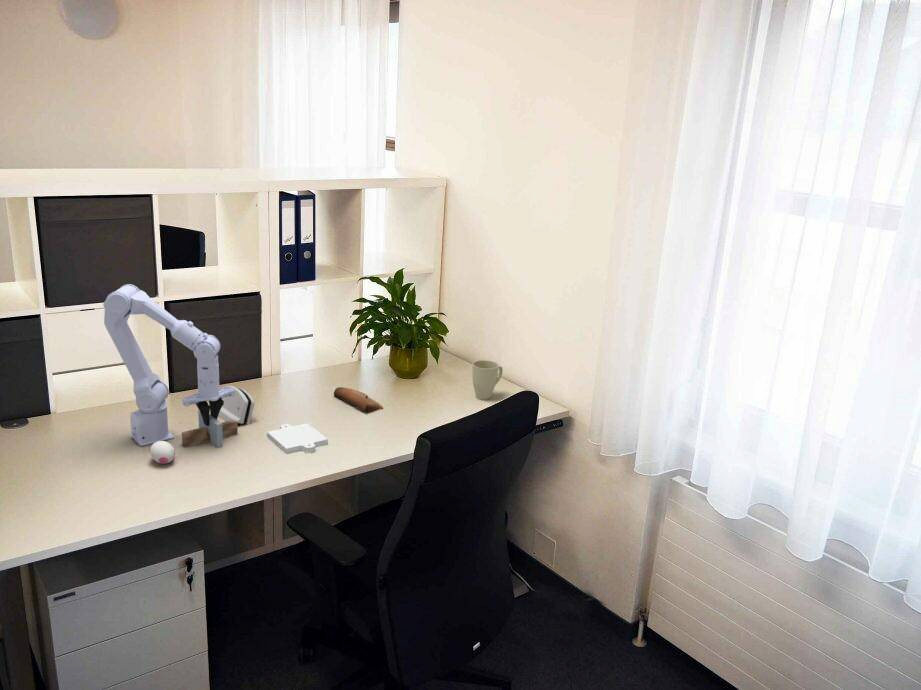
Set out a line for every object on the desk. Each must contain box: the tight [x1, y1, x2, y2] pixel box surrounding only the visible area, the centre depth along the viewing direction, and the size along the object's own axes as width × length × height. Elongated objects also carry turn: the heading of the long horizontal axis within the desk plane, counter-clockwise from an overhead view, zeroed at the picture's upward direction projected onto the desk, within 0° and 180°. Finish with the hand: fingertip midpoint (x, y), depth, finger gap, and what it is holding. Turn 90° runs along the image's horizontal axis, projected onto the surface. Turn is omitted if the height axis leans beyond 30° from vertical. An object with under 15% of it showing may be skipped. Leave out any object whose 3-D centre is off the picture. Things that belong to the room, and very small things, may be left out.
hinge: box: [218, 385, 256, 425], centre depth 239 cm, size 17×5×10 cm, turn 44°
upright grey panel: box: [197, 410, 224, 448], centre depth 222 cm, size 2×12×7 cm, turn 42°
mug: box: [472, 359, 503, 401], centre depth 267 cm, size 11×10×12 cm
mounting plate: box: [266, 422, 329, 455], centre depth 226 cm, size 18×13×2 cm
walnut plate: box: [181, 420, 238, 448], centre depth 222 cm, size 16×2×4 cm, turn 132°
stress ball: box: [149, 440, 178, 466], centre depth 208 cm, size 8×8×7 cm
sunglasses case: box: [333, 386, 384, 414], centre depth 256 cm, size 18×7×7 cm
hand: (210, 424), depth 221 cm, fingers closed on upright grey panel, 1 cm apart
